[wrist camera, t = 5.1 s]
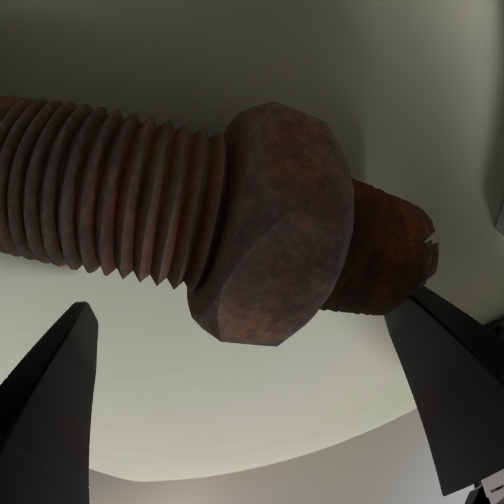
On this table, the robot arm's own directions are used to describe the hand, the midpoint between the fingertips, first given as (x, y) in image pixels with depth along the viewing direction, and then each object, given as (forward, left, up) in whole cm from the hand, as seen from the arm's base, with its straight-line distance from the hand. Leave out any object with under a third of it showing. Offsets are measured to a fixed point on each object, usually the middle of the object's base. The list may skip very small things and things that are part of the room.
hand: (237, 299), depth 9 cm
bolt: (+4, +2, -2) cm, 5 cm away
